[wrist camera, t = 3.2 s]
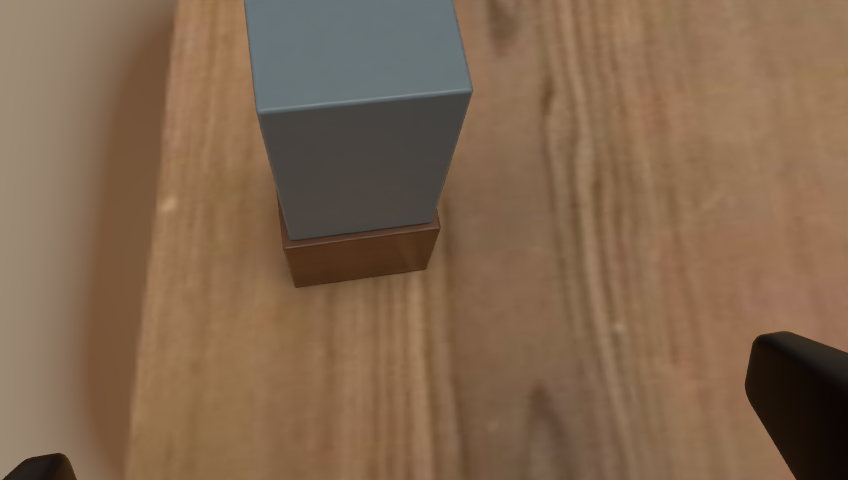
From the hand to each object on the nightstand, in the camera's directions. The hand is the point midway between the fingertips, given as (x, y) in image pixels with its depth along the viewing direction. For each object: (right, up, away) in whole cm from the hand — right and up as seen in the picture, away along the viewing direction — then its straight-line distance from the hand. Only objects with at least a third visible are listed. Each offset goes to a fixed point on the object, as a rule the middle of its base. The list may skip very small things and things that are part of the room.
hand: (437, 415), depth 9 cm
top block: (-2, +4, +11) cm, 12 cm away
